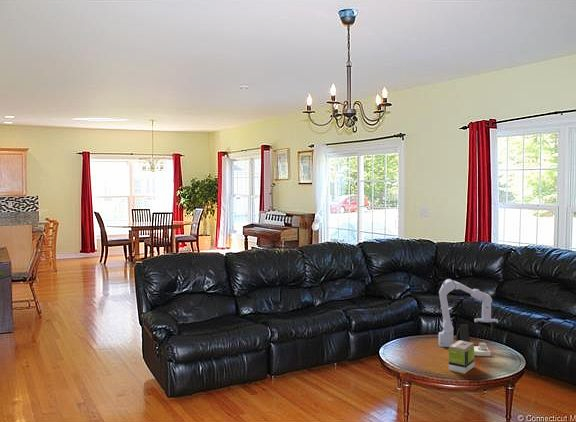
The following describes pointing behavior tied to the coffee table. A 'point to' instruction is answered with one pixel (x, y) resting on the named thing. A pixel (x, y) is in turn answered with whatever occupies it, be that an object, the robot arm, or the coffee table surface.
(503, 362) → the coffee table surface
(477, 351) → the socket board
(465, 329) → the door stopper
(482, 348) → the aluminium peg
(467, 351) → the tea box
